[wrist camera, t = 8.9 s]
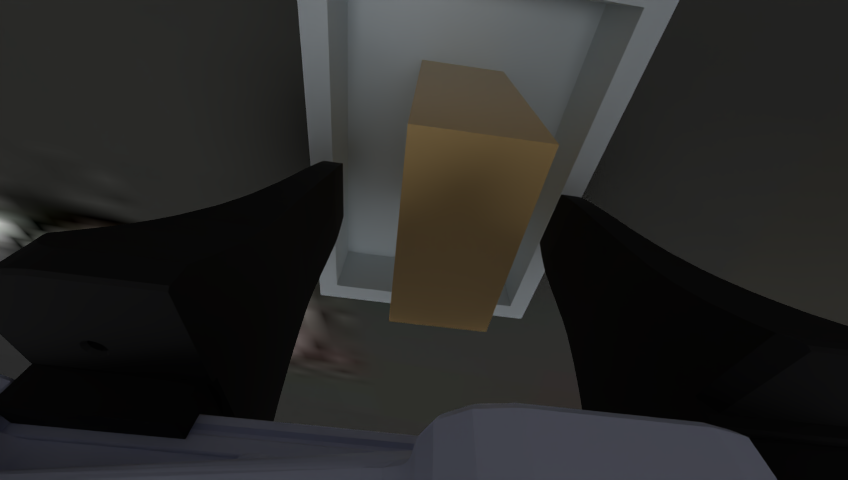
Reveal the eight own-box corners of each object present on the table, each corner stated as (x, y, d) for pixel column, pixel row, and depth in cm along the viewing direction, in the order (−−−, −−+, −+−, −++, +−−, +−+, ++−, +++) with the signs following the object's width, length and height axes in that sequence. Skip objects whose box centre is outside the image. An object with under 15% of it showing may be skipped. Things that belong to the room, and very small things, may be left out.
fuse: (503, 71, 12) (559, 144, 6) (469, 209, 16) (486, 331, 10) (422, 59, 12) (407, 124, 6) (406, 201, 16) (389, 321, 10)
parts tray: (635, -23, 11) (692, -26, 8) (510, 276, 19) (521, 318, 17) (324, -80, 10) (289, -100, 8) (335, 254, 18) (320, 294, 16)
